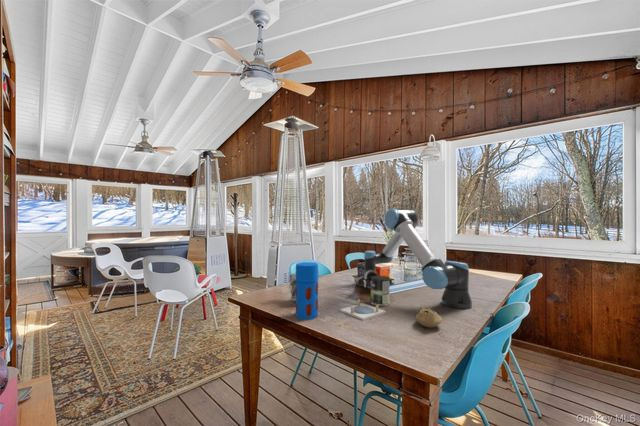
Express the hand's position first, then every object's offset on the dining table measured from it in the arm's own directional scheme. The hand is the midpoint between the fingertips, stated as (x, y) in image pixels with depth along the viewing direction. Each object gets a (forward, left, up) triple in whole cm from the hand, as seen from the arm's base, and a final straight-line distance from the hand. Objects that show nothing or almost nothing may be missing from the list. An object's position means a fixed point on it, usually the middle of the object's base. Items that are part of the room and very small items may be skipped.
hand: (377, 285), depth 171 cm
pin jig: (-11, +24, -7) cm, 28 cm away
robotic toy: (+23, +40, -8) cm, 47 cm away
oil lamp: (-40, +13, -8) cm, 43 cm away
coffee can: (-7, +6, -8) cm, 12 cm away
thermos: (+2, +49, -8) cm, 50 cm away
